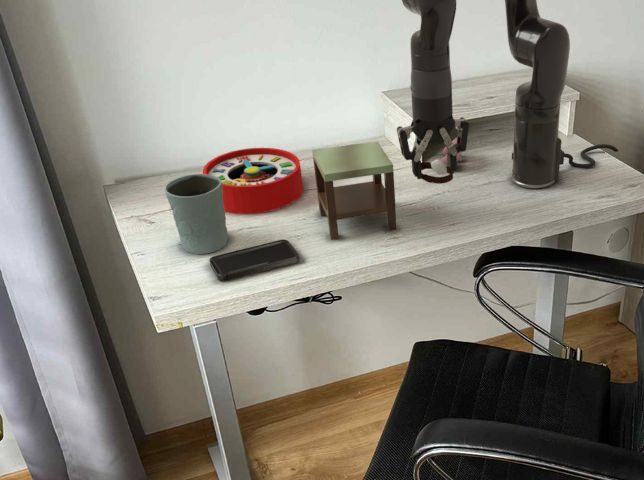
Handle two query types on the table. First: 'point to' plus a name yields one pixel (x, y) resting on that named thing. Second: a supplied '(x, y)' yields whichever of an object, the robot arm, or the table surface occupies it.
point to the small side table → (355, 196)
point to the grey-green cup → (198, 212)
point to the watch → (438, 168)
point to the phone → (253, 260)
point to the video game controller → (447, 152)
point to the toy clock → (257, 179)
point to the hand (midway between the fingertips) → (434, 174)
